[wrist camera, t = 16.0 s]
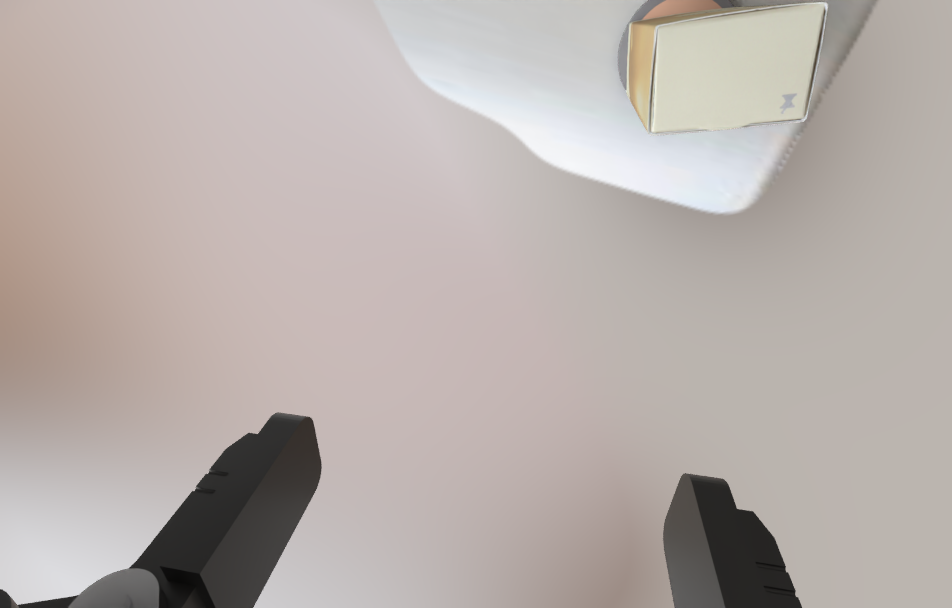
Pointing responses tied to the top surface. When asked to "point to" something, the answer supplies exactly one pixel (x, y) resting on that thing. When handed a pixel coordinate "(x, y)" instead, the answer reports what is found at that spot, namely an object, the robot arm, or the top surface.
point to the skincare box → (725, 67)
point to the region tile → (661, 4)
